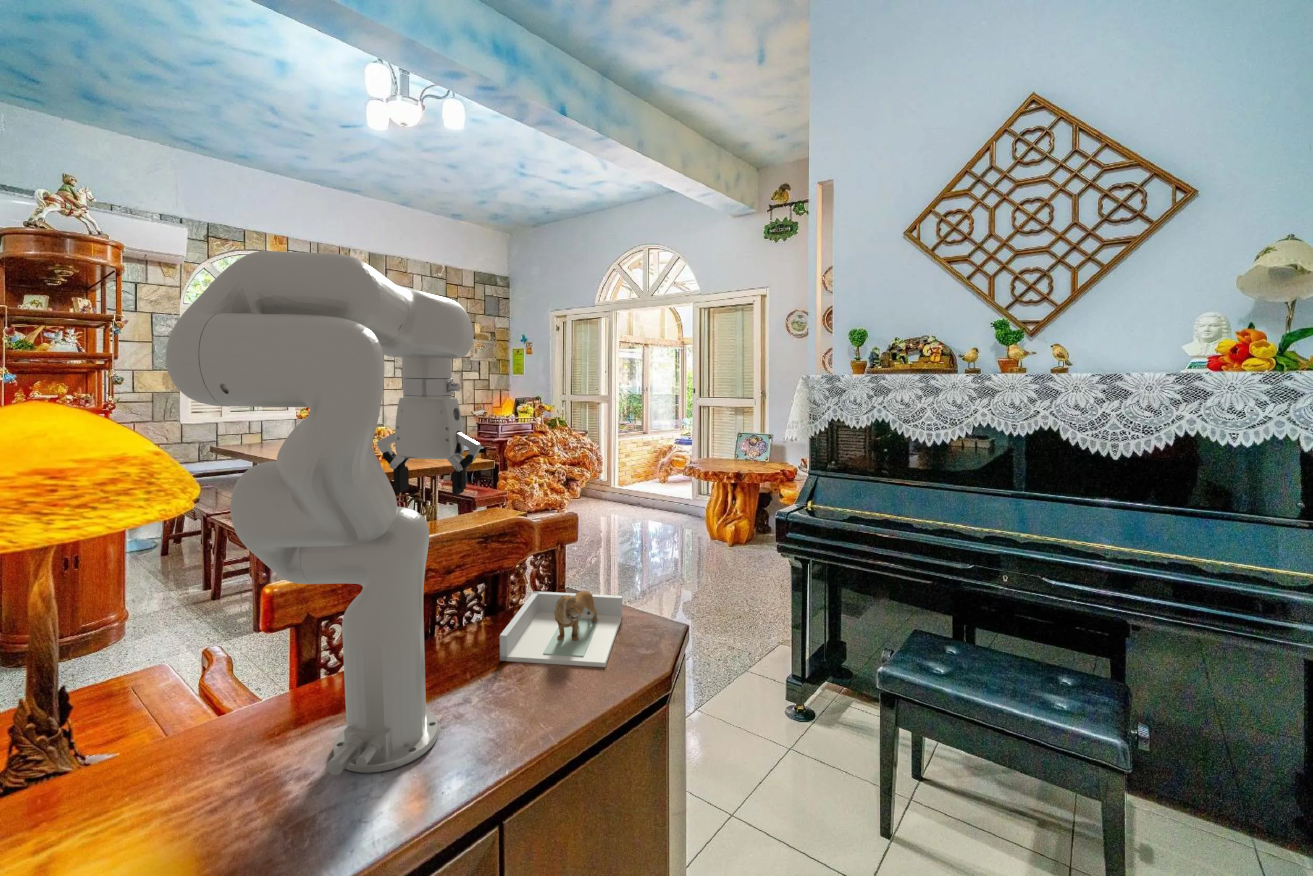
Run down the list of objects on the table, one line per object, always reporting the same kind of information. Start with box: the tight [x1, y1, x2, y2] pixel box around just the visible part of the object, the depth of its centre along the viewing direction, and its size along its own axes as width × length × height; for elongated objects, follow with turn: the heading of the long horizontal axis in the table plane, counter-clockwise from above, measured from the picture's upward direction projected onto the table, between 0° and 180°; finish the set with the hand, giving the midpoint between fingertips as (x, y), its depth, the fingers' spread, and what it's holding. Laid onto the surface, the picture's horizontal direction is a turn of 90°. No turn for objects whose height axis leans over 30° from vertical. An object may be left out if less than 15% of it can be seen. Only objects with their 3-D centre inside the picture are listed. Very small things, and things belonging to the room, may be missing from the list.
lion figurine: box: [554, 590, 597, 641], centre depth 109 cm, size 15×5×9 cm, turn 169°
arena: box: [499, 590, 623, 668], centre depth 109 cm, size 20×18×4 cm
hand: (430, 492), depth 99 cm, fingers open, 9 cm apart
